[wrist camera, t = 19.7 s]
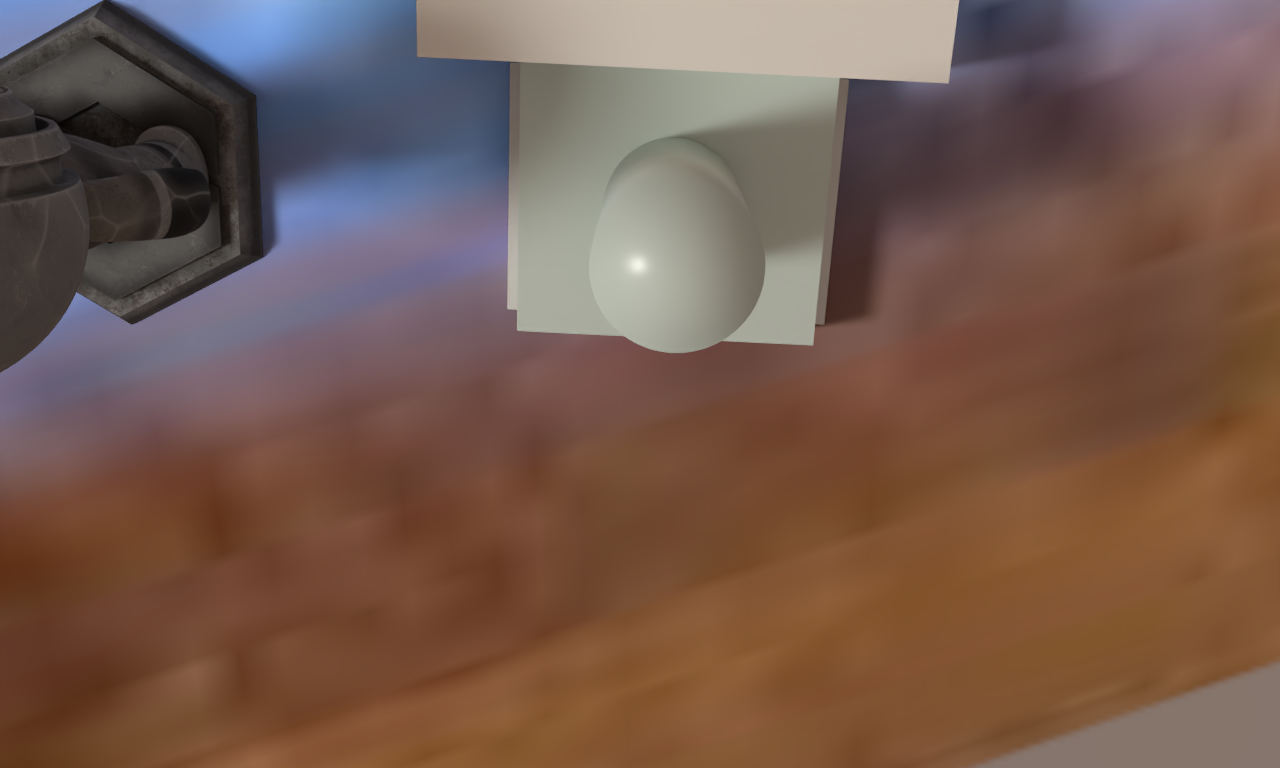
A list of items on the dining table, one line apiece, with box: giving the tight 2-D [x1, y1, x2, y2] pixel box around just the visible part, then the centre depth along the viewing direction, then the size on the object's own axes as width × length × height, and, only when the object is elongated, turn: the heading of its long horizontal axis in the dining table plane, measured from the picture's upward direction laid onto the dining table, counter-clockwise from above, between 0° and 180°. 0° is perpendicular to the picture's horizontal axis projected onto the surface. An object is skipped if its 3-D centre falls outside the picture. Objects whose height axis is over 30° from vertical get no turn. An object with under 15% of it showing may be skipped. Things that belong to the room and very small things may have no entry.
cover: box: [517, 62, 840, 353], centre depth 31 cm, size 8×9×10 cm
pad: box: [507, 62, 849, 325], centre depth 35 cm, size 8×10×1 cm
